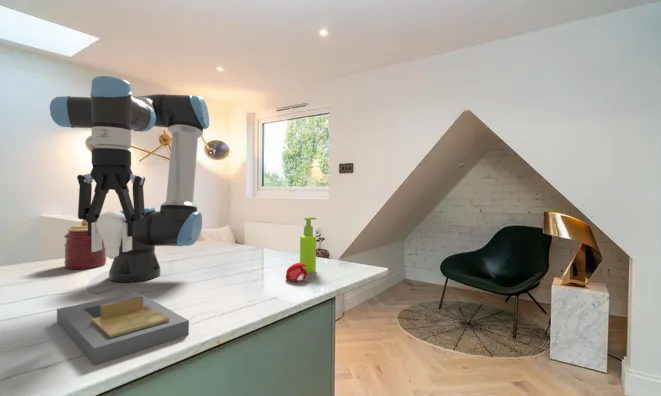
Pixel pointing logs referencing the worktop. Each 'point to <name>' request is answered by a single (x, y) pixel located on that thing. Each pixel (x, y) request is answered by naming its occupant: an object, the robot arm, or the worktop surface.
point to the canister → (82, 249)
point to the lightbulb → (111, 231)
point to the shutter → (127, 317)
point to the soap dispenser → (308, 247)
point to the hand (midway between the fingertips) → (112, 250)
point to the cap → (296, 271)
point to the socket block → (105, 348)
